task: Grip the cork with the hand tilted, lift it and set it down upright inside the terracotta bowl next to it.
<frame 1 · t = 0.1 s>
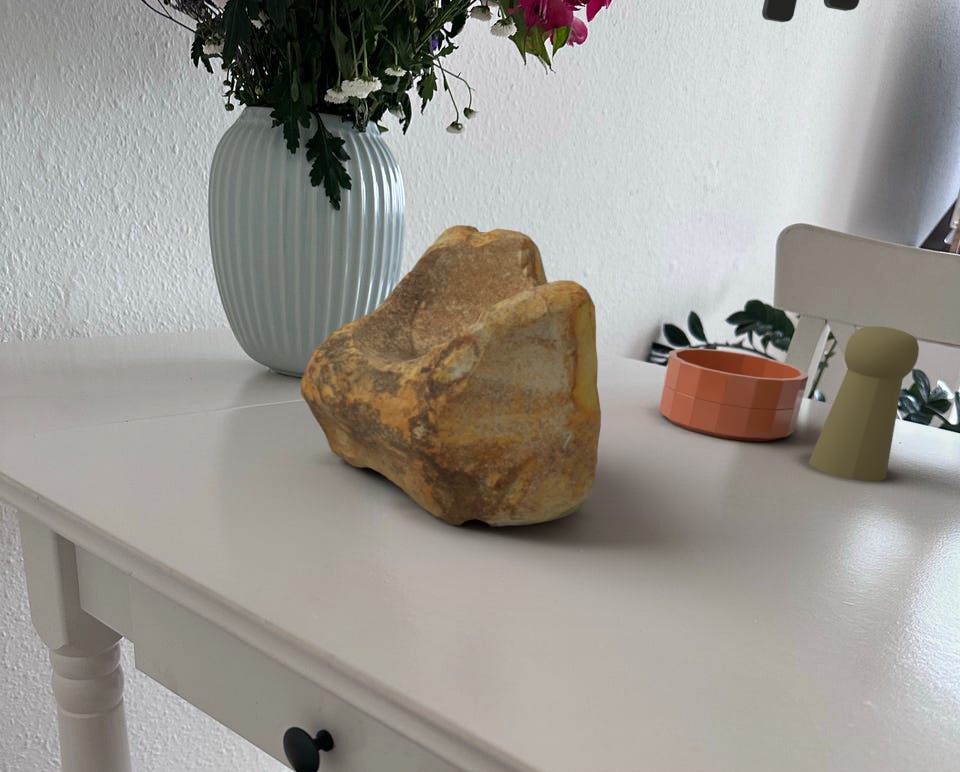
hand: (805, 15, 67), 30 cm above the table, tool pointing down, fingers open, 8 cm apart
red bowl: (723, 425, 86), on the table
rough brown rock: (430, 482, 63), on the table
cork: (845, 472, 77), on the table
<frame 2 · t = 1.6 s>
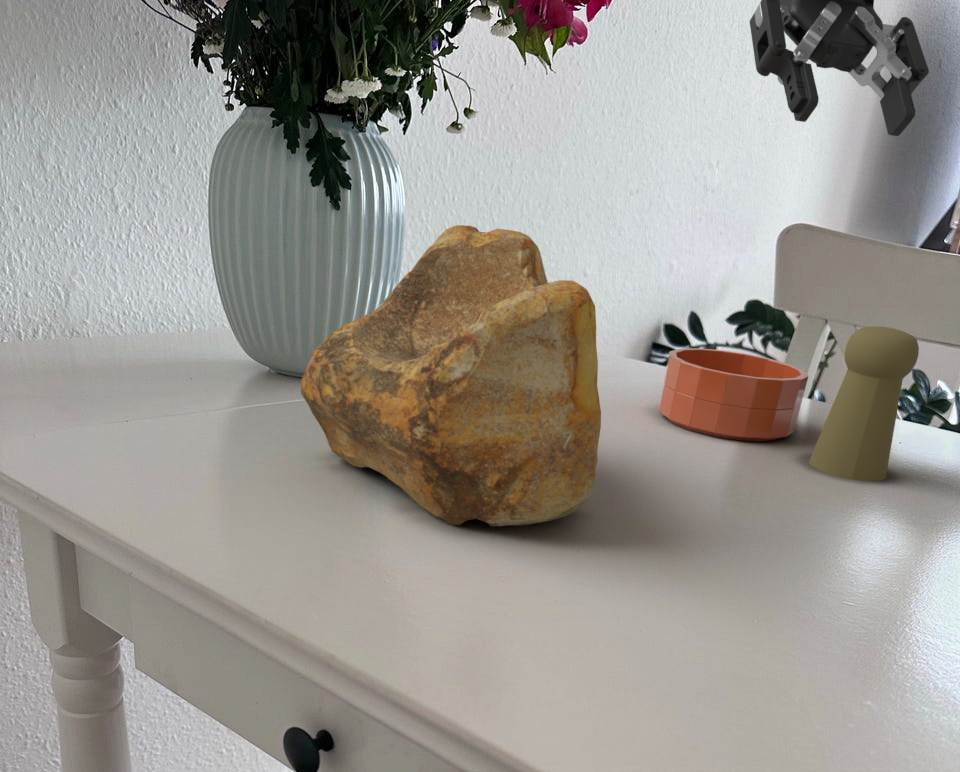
hand: (855, 120, 75), 25 cm above the table, tool tilted 45°, fingers open, 8 cm apart
nothing on the table moved.
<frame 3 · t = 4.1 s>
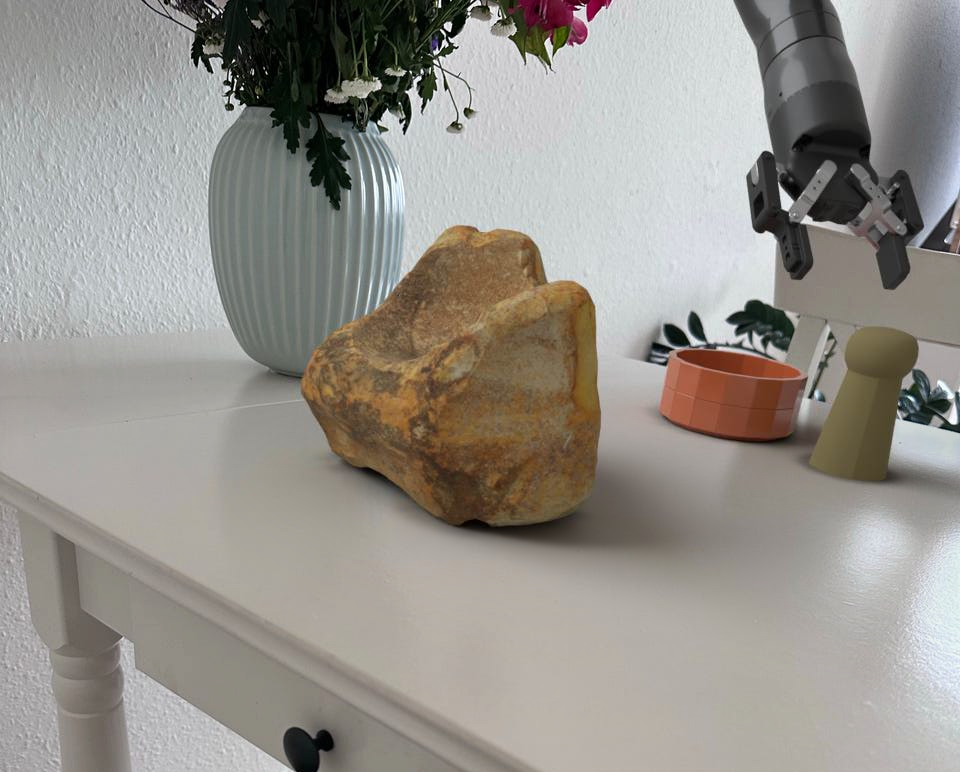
hand: (850, 278, 76), 14 cm above the table, tool tilted 45°, fingers open, 8 cm apart
nothing on the table moved.
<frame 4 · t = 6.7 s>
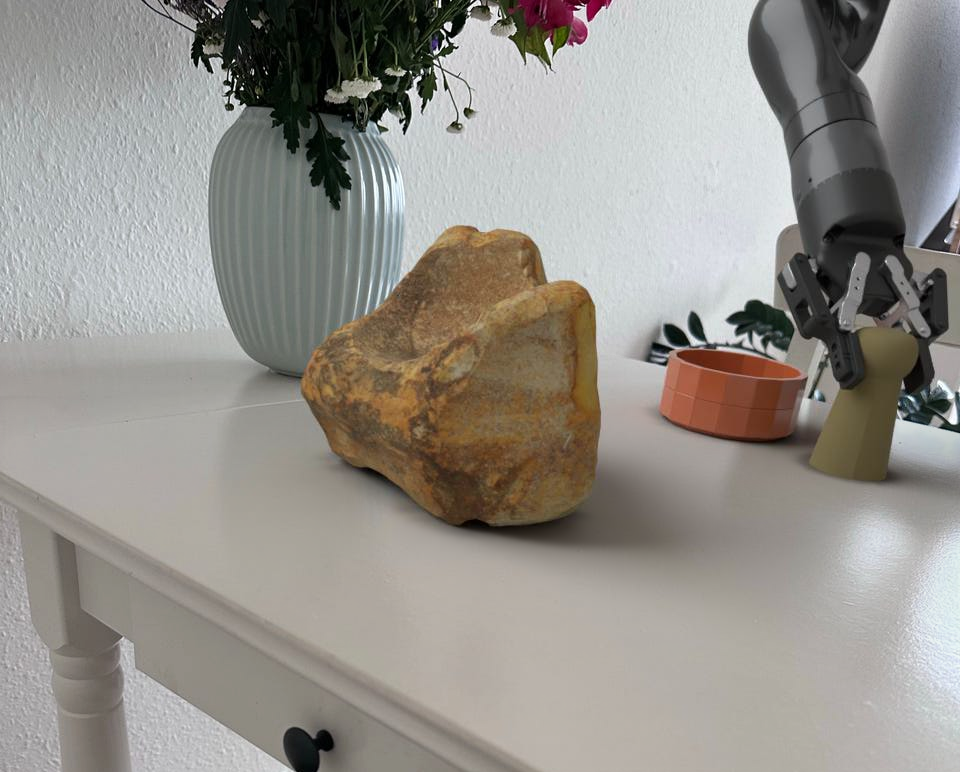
hand: (887, 386, 72), 7 cm above the table, tool tilted 45°, fingers closed on cork, 5 cm apart
cork: (845, 472, 77), on the table, touching gripper
everything else where it was.
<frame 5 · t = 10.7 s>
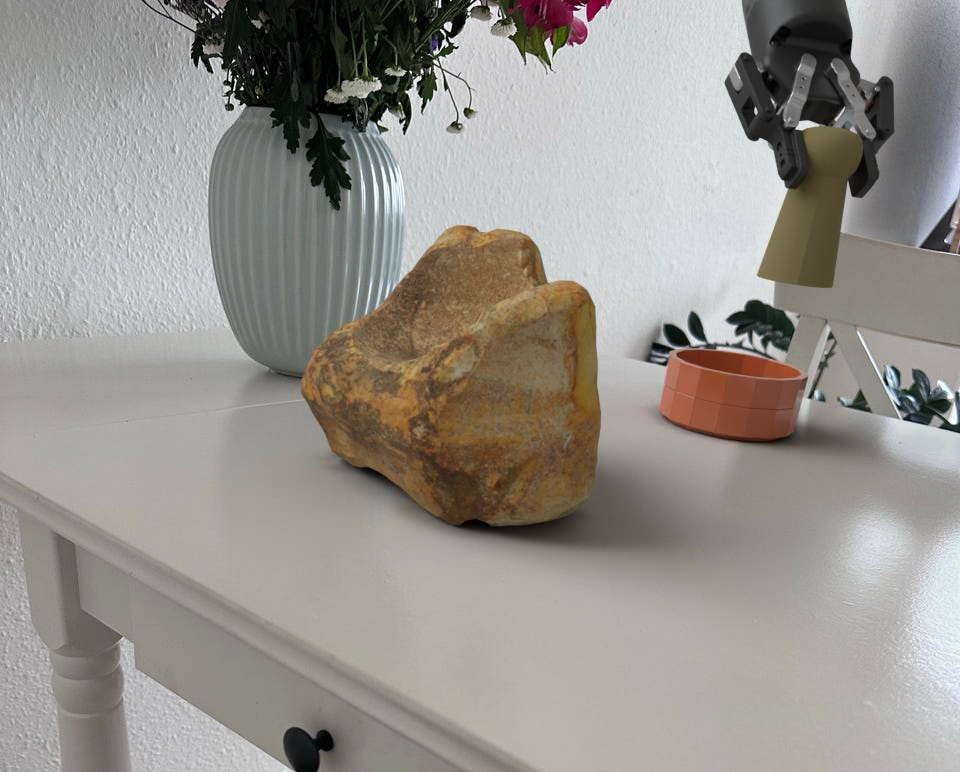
hand: (831, 185, 73), 20 cm above the table, tool tilted 45°, fingers closed on cork, 5 cm apart
cork: (793, 283, 78), point 13 cm above the table, touching gripper
everything else where it was.
when the fingers open (8 cm above the table, at t = 15.0 s): cork stays where it is, resting on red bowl.
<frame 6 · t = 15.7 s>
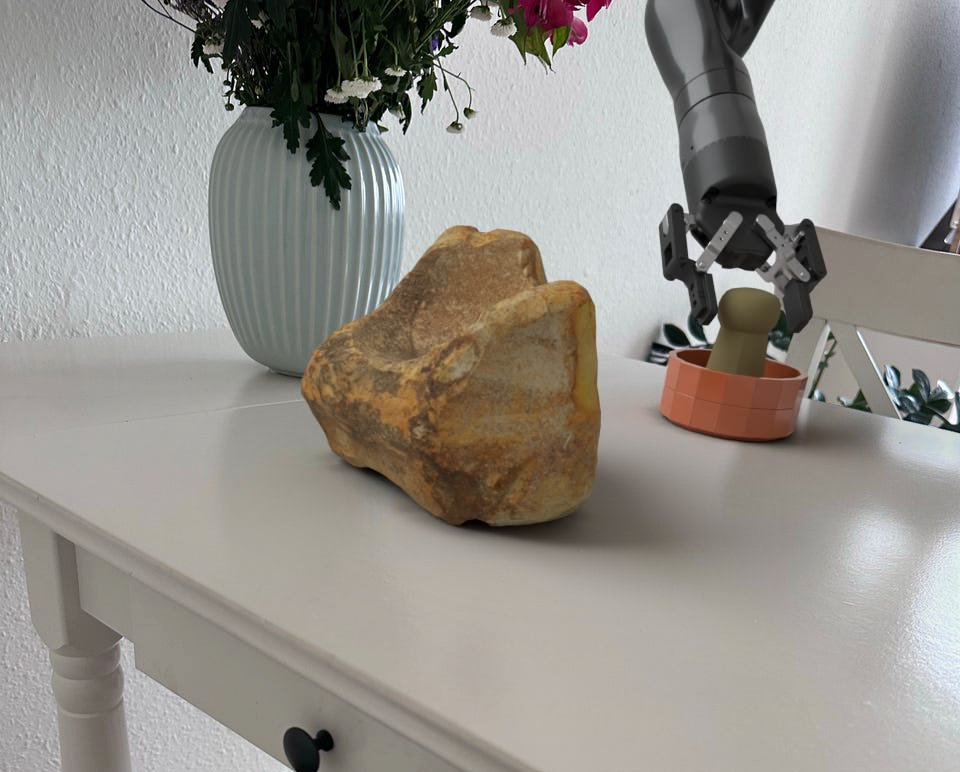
hand: (755, 324, 81), 9 cm above the table, tool tilted 45°, fingers open, 8 cm apart
cork: (723, 420, 86), resting on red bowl
everything else where it was.
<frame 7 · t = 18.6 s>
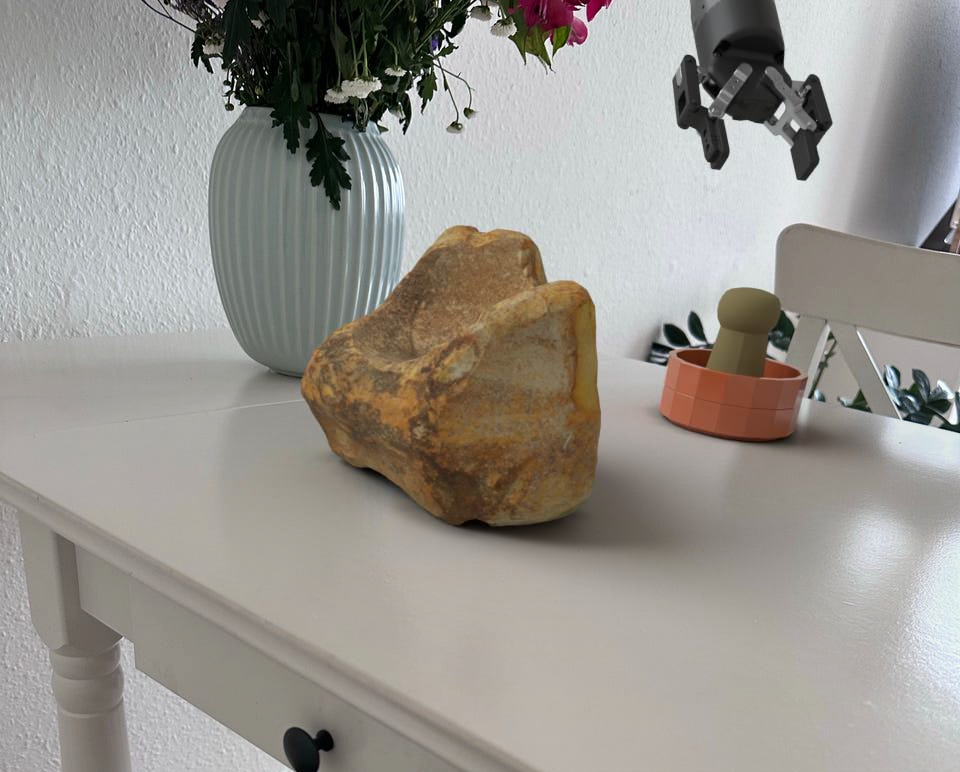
hand: (765, 168, 85), 21 cm above the table, tool tilted 45°, fingers open, 8 cm apart
nothing on the table moved.
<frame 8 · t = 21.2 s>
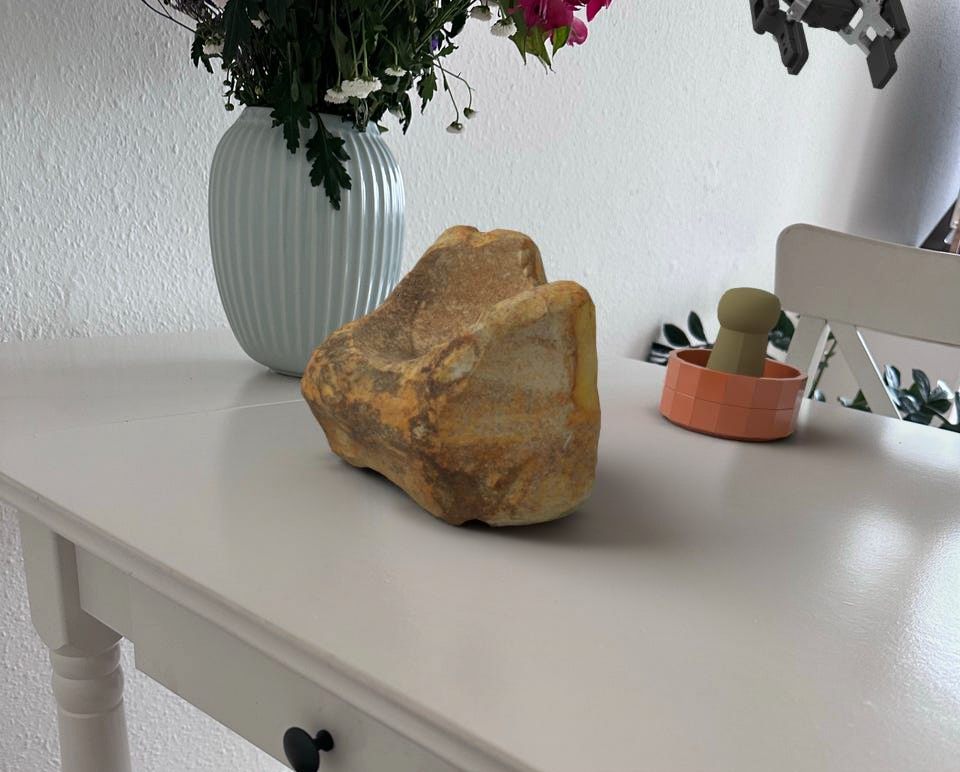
hand: (842, 74, 83), 29 cm above the table, tool tilted 45°, fingers open, 8 cm apart
nothing on the table moved.
at the end: cork inside the target area in the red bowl (0.2 cm from its centre), point 0.4 cm above the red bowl's base; cork tilted 0°; the gripper is holding nothing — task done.
